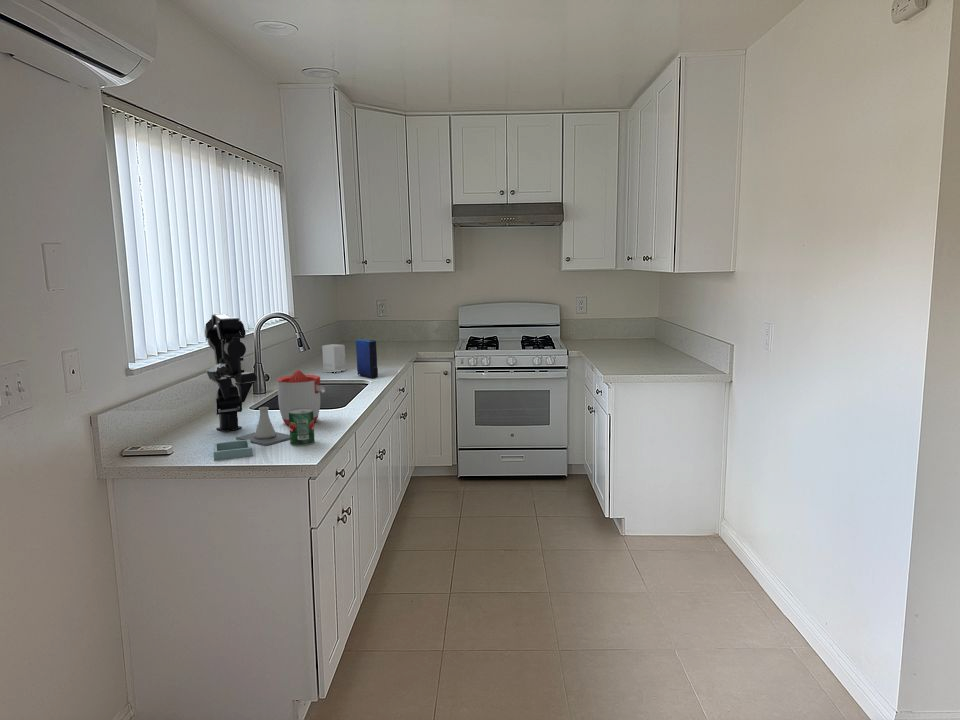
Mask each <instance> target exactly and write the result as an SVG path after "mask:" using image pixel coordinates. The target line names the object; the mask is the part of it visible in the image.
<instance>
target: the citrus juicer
mask: <svg viewBox="0 0 960 720" xmlns="http://www.w3.org/2000/svg"><path fill="white" fill-rule="evenodd" d="M276 381H277V382H276V383H277V398H278V408H279V414H280V415H281V419H282V420H283V423H284V424H285V425H287V426H289V410H292V409H297V408H311V409H313V417H314V423H317V421H318V418H319V414H320V408H321V393H325V392H326V389H325V387H324V386H322V385H321V377H320V376H319V375H316V374H305V373H303V372H302V371H301V370H299V369H297V370H296V371H294V373H293V374H291V375H286V376H285V375H284V376H281V377H278V378H276Z"/></svg>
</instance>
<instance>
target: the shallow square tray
mask: <svg viewBox="0 0 960 720" xmlns="http://www.w3.org/2000/svg"><path fill="white" fill-rule="evenodd" d="M212 445H213V446H212V447H213V460H214V461H220V460H228V459H237V458H244V457H245V458H246V457H253V456H254V455H253V446H252V443H251V442H250V439H249V440H231V441H222V442H221V441H220V442H213V444H212Z"/></svg>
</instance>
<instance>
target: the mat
mask: <svg viewBox="0 0 960 720" xmlns="http://www.w3.org/2000/svg"><path fill="white" fill-rule="evenodd" d="M275 432H276V436H275V437H271V438H265V439H257V438H255V437H254V436H255V432H252V433H248V434H245V435H244V434H243V435H241V436H236V437H235V440H237V441H239V440H249V439H250V442H251V444H256V445H261V446H264V447H267V446H272V445H275V444H278V443H282V442H286V441H290V434H287V433H283V432H278V431H275Z"/></svg>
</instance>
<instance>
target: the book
mask: <svg viewBox="0 0 960 720" xmlns="http://www.w3.org/2000/svg"><path fill="white" fill-rule="evenodd" d="M355 351H356V367H357V370H356V371H357V375H358V376H360V377H365V378H370V379H375V378H378V377H379V371H378V370H379V369H378V354H377V351H378V350H377V341H376V340H374V339H373V340H372V339H364V338H360V339H355ZM359 374H360V375H359ZM364 375H365V376H364Z"/></svg>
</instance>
